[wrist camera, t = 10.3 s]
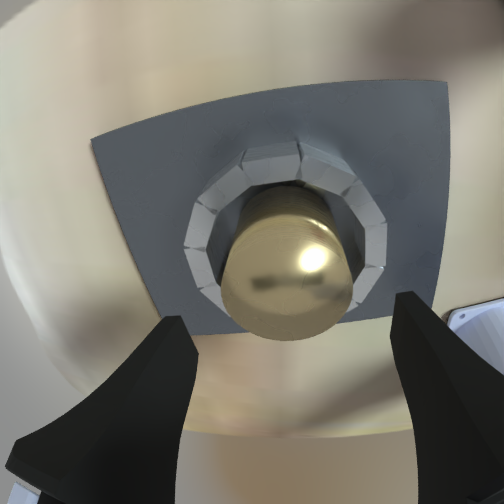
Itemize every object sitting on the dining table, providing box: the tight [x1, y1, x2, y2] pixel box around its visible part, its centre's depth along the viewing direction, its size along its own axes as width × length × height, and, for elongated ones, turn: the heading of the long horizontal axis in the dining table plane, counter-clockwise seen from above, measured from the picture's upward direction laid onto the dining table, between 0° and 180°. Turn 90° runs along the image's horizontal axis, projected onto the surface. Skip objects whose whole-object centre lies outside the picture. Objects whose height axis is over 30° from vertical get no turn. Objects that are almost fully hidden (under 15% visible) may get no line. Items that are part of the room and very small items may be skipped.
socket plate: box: [91, 80, 450, 335], centre depth 15 cm, size 18×14×3 cm
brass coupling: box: [221, 186, 353, 341], centre depth 14 cm, size 5×5×5 cm
